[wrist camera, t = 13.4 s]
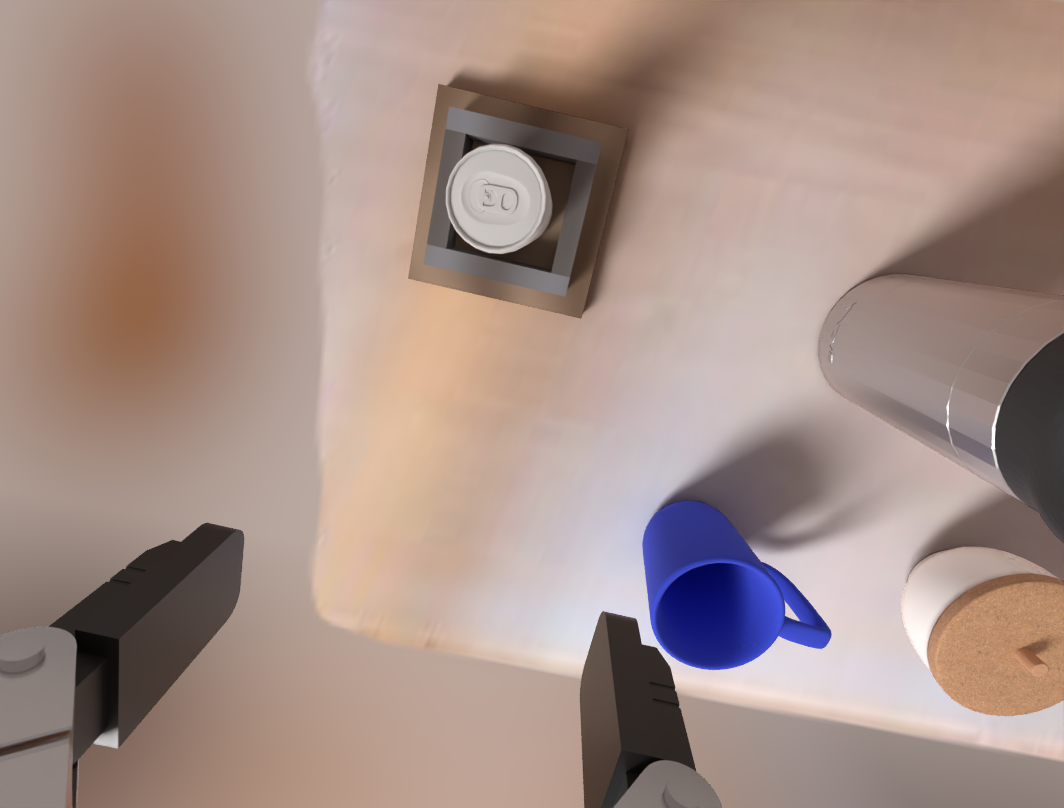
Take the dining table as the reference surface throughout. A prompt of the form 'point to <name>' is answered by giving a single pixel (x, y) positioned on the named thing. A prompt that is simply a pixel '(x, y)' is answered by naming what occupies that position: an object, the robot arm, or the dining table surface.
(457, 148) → the can holder
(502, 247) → the beverage can
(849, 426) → the dining table surface
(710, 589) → the mug
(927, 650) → the lidded jar
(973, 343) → the robot arm
